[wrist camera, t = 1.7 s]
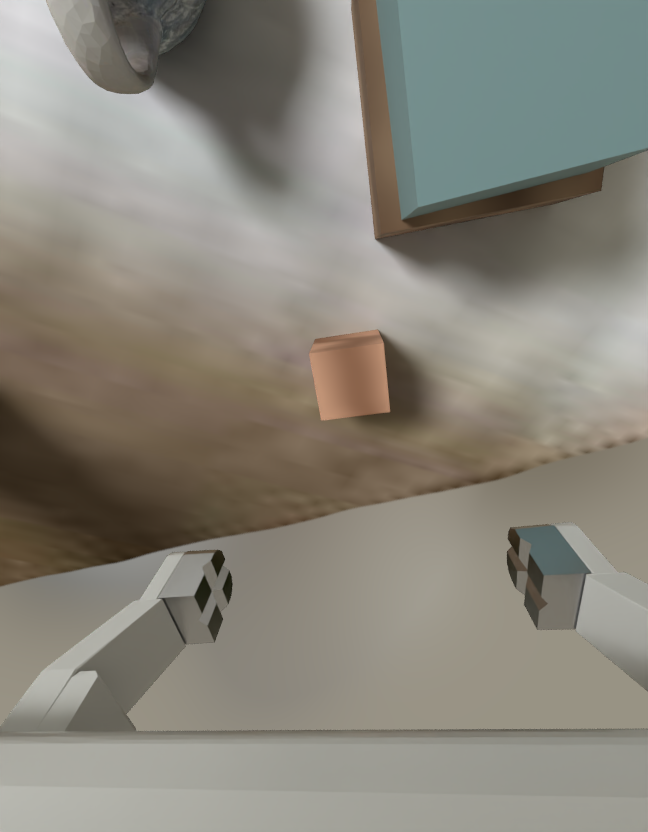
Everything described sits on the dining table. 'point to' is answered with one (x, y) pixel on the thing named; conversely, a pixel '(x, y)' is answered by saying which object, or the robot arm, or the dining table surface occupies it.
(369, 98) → the walnut base slab
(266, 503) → the dining table surface
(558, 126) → the slate top slab
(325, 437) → the dining table surface
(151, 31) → the mug
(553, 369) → the dining table surface
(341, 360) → the terracotta cube
